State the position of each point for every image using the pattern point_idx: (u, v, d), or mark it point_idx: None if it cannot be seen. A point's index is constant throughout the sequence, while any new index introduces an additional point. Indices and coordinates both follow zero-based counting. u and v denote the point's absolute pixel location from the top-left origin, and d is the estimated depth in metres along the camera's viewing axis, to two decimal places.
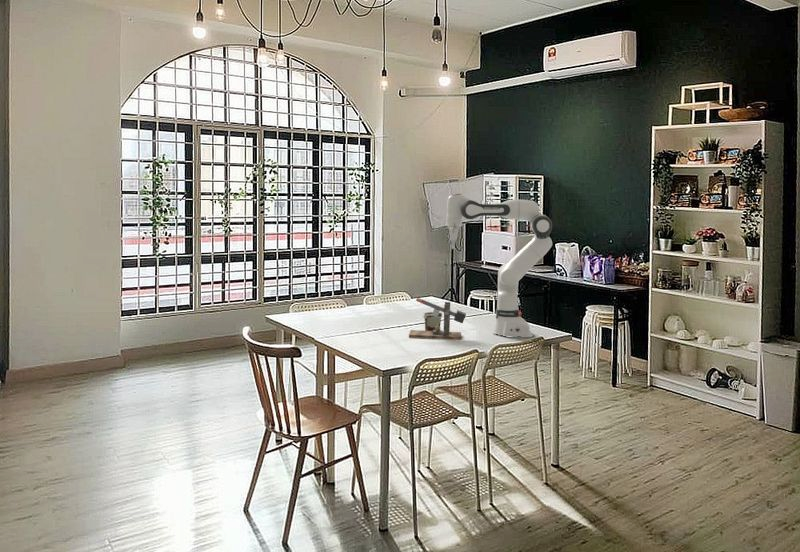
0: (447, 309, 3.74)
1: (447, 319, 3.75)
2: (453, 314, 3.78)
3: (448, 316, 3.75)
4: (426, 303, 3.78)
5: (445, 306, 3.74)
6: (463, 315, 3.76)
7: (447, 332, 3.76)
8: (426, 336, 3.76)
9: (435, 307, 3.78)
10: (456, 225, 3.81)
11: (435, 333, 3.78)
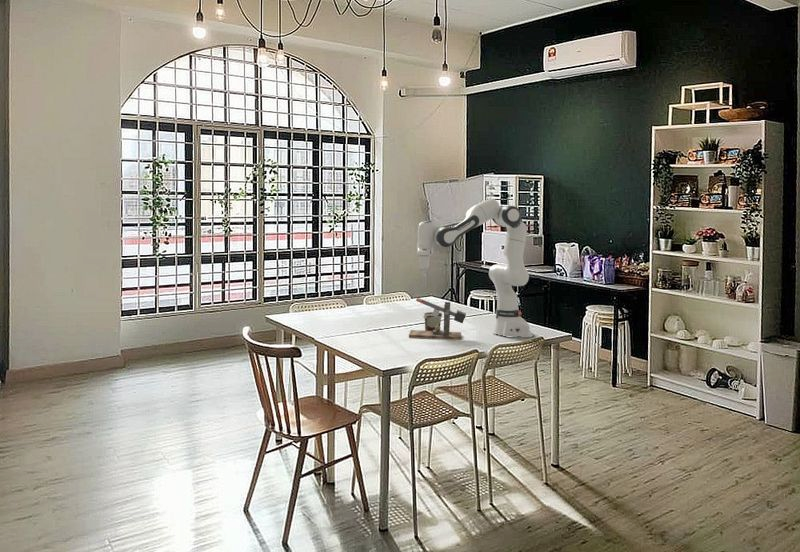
0: (447, 309, 3.74)
1: (447, 319, 3.75)
2: (453, 314, 3.78)
3: (448, 316, 3.75)
4: (426, 303, 3.78)
5: (445, 306, 3.74)
6: (463, 315, 3.76)
7: (447, 332, 3.76)
8: (426, 336, 3.76)
9: (435, 307, 3.78)
10: None
11: (435, 333, 3.78)
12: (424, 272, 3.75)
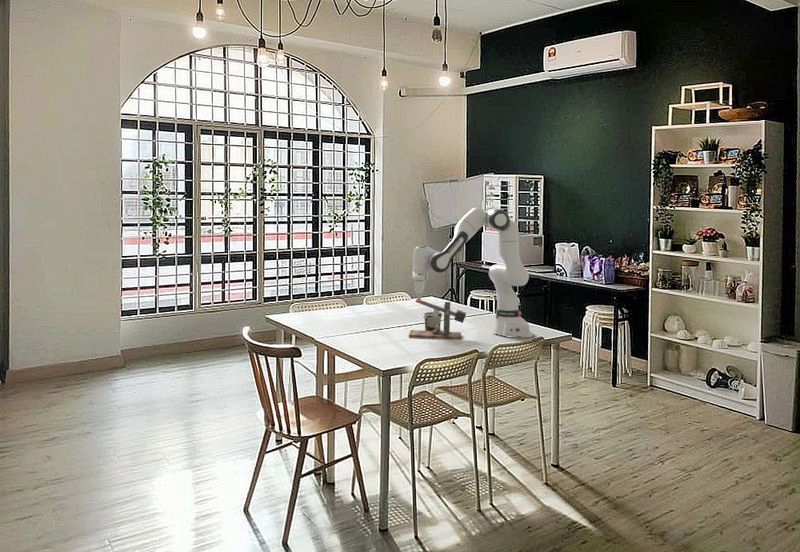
0: (447, 309, 3.74)
1: (447, 319, 3.75)
2: (453, 314, 3.78)
3: (448, 316, 3.75)
4: (426, 304, 3.78)
5: (445, 306, 3.74)
6: (463, 314, 3.75)
7: (447, 332, 3.76)
8: (426, 336, 3.76)
9: (435, 307, 3.78)
10: None
11: (435, 333, 3.78)
12: (419, 296, 3.77)
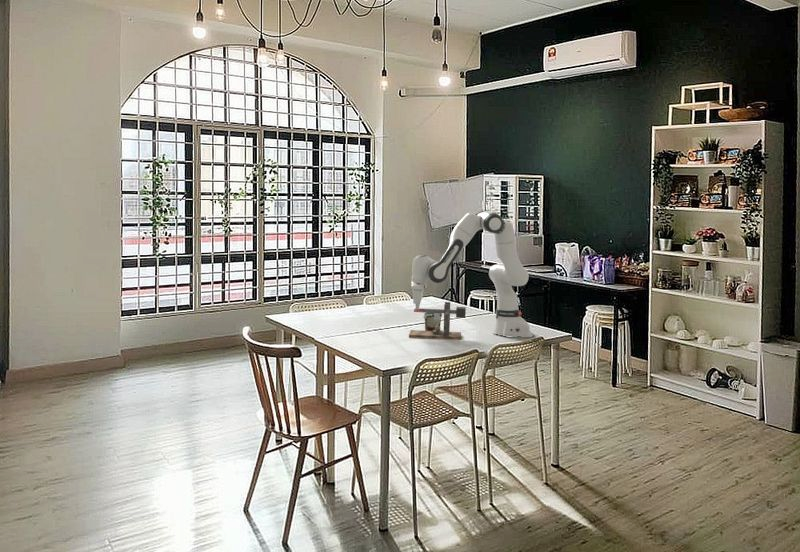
0: (447, 309, 3.74)
1: (447, 319, 3.75)
2: (454, 312, 3.77)
3: (448, 316, 3.75)
4: (424, 310, 3.79)
5: (445, 306, 3.74)
6: (463, 309, 3.75)
7: (447, 332, 3.76)
8: (426, 336, 3.76)
9: (434, 311, 3.78)
10: None
11: (435, 333, 3.78)
12: (417, 306, 3.78)
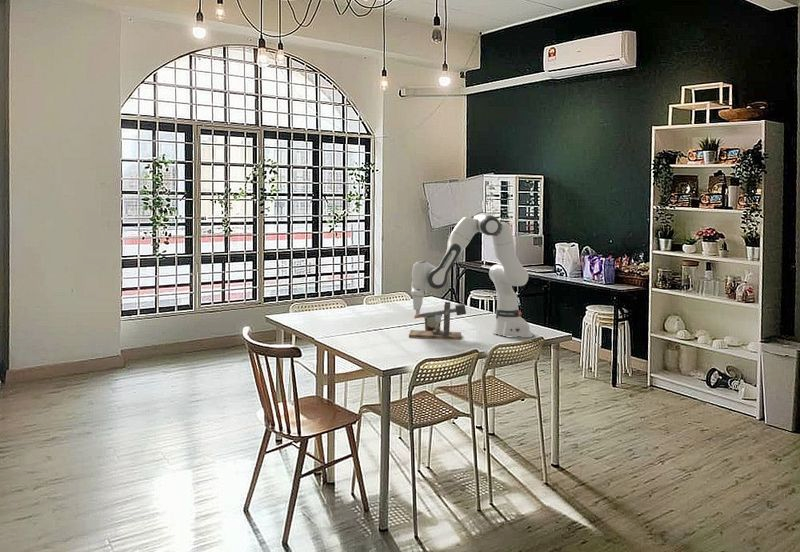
0: (447, 309, 3.74)
1: (447, 319, 3.75)
2: (453, 310, 3.77)
3: (448, 316, 3.75)
4: (425, 315, 3.79)
5: (445, 306, 3.74)
6: (462, 306, 3.75)
7: (447, 332, 3.76)
8: (426, 336, 3.76)
9: (434, 314, 3.79)
10: None
11: (435, 333, 3.78)
12: (417, 311, 3.78)
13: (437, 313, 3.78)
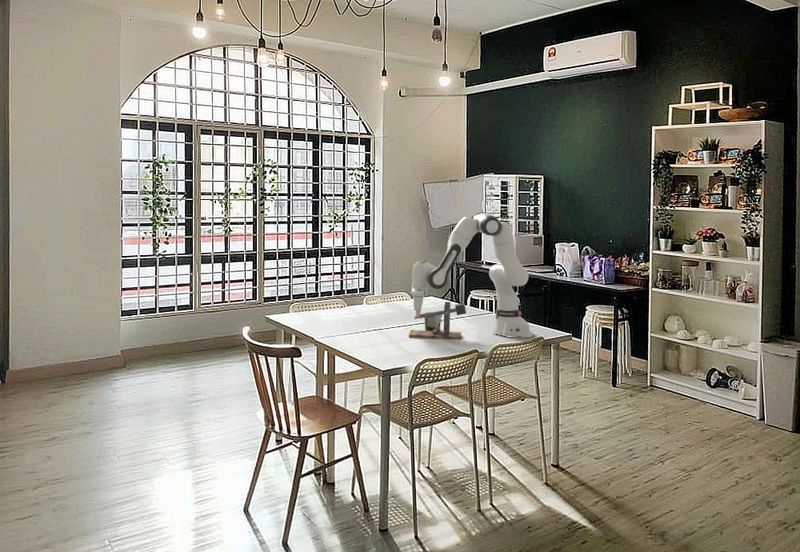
0: (447, 309, 3.74)
1: (447, 319, 3.75)
2: (453, 310, 3.77)
3: (448, 316, 3.75)
4: (425, 315, 3.79)
5: (445, 306, 3.74)
6: (462, 306, 3.75)
7: (447, 332, 3.76)
8: (426, 336, 3.76)
9: (435, 314, 3.79)
10: None
11: (435, 333, 3.78)
12: (417, 313, 3.75)
13: (437, 313, 3.78)
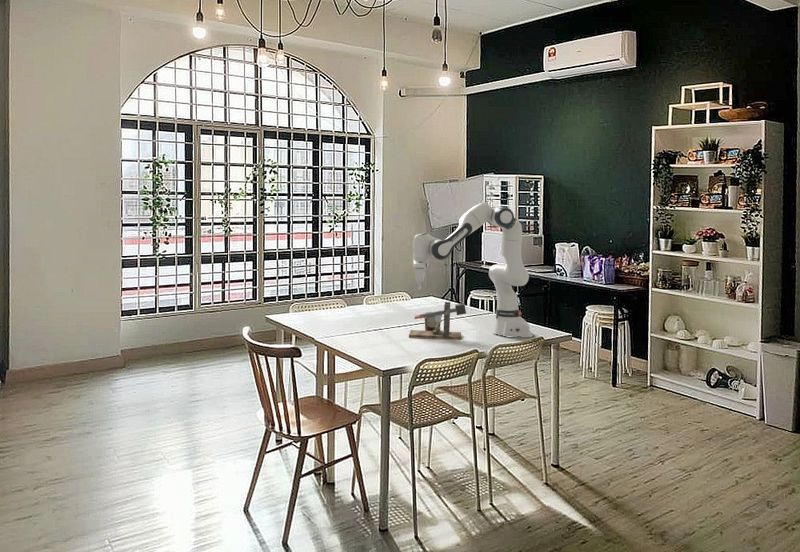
0: (447, 309, 3.74)
1: (447, 319, 3.75)
2: (453, 310, 3.77)
3: (448, 316, 3.75)
4: (425, 315, 3.79)
5: (445, 306, 3.74)
6: (462, 306, 3.75)
7: (447, 332, 3.76)
8: (426, 336, 3.76)
9: (435, 314, 3.79)
10: None
11: (435, 333, 3.78)
12: (419, 285, 3.72)
13: (437, 313, 3.78)
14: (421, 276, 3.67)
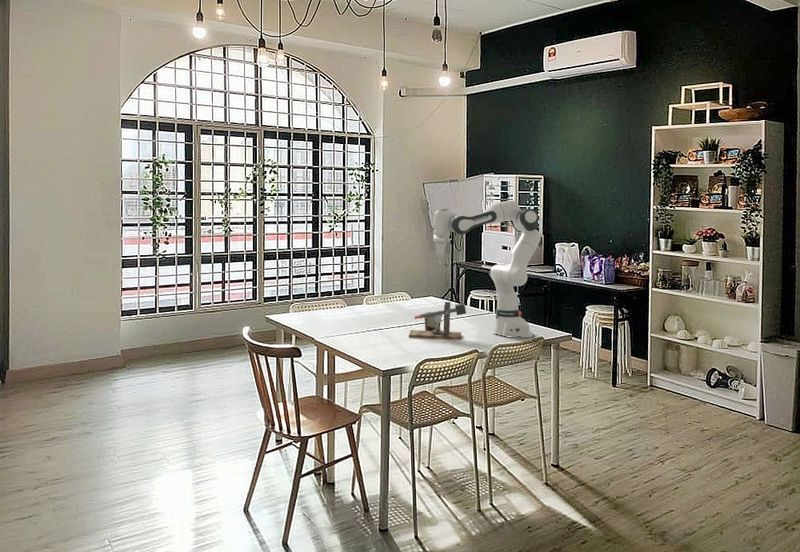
0: (447, 309, 3.74)
1: (447, 319, 3.75)
2: (453, 310, 3.77)
3: (448, 316, 3.75)
4: (425, 315, 3.79)
5: (445, 306, 3.74)
6: (462, 306, 3.75)
7: (447, 332, 3.76)
8: (426, 336, 3.76)
9: (435, 314, 3.79)
10: None
11: (435, 333, 3.78)
12: (440, 260, 3.81)
13: (437, 313, 3.78)
14: (442, 250, 3.76)
